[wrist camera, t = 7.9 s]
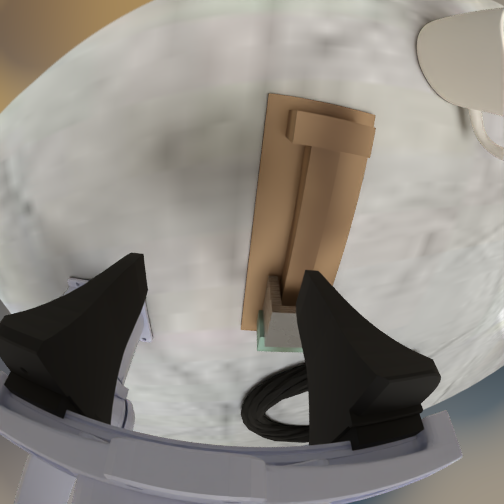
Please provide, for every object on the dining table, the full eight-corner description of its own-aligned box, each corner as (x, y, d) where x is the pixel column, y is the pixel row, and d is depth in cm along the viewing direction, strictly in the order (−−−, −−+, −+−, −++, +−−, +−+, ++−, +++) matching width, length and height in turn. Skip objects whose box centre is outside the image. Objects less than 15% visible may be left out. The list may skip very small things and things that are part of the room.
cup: (464, 26, 11) (540, 22, 2) (488, 139, 17) (562, 173, 8) (400, 19, 12) (482, -7, 4) (433, 150, 18) (517, 191, 9)
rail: (241, 325, 28) (240, 356, 24) (268, 93, 17) (273, 90, 13) (314, 329, 28) (321, 358, 25) (372, 115, 17) (398, 119, 14)
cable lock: (202, 419, 34) (397, 328, 24) (205, 399, 38) (384, 304, 27) (303, 452, 45) (436, 393, 35) (302, 437, 48) (430, 377, 38)
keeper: (262, 309, 25) (264, 346, 21) (268, 275, 23) (272, 312, 19) (307, 311, 26) (315, 347, 22) (317, 279, 24) (328, 314, 20)
